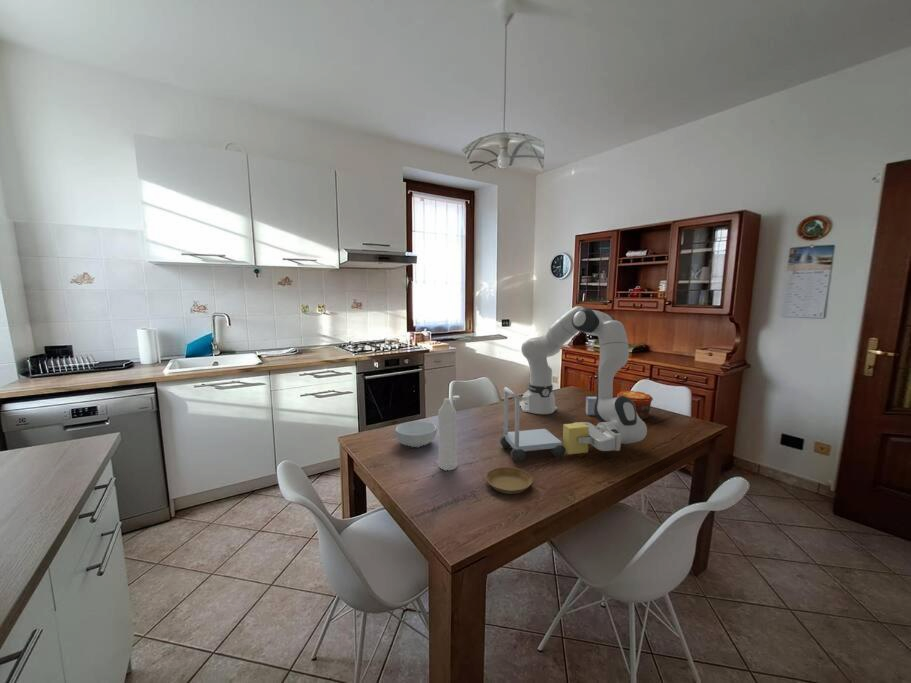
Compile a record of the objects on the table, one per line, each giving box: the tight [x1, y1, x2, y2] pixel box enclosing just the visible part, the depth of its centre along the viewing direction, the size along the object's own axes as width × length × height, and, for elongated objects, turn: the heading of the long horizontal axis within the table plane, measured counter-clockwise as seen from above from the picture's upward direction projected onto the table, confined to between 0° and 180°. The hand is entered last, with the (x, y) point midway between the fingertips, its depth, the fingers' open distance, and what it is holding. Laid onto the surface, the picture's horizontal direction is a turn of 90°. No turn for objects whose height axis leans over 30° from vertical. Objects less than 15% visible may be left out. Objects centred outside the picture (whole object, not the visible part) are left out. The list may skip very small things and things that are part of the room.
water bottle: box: [437, 395, 461, 471], centre depth 129 cm, size 9×6×25 cm
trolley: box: [499, 386, 566, 463], centre depth 139 cm, size 14×21×25 cm, turn 102°
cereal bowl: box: [395, 420, 438, 448], centre depth 149 cm, size 17×17×7 cm
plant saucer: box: [485, 466, 533, 495], centre depth 117 cm, size 15×15×3 cm
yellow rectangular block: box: [562, 422, 589, 455], centre depth 137 cm, size 4×8×10 cm, turn 102°
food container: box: [616, 390, 654, 420], centre depth 181 cm, size 16×16×11 cm
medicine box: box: [585, 396, 597, 416], centre depth 183 cm, size 8×4×9 cm, turn 84°
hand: (573, 437), depth 137 cm, fingers closed on yellow rectangular block, 4 cm apart
